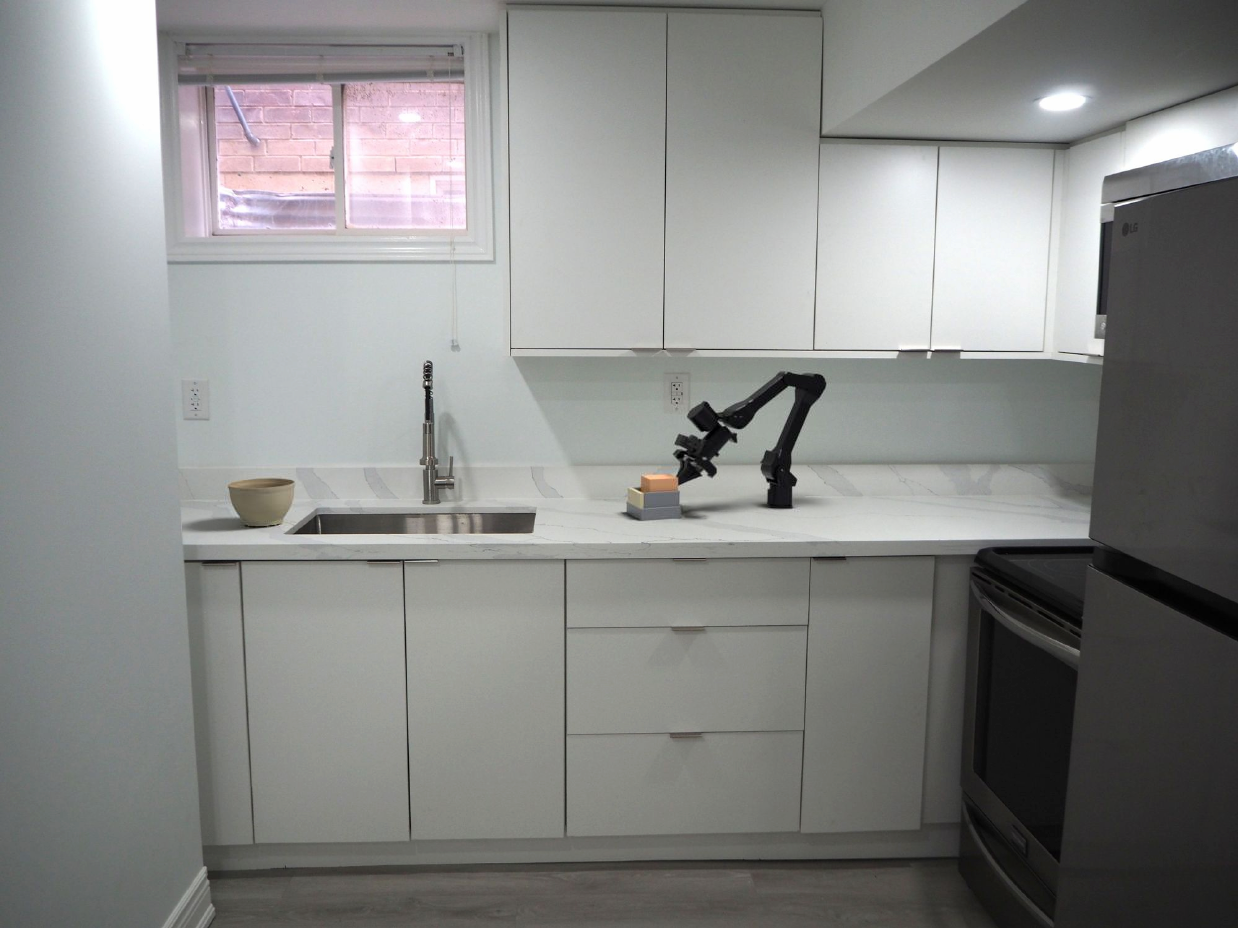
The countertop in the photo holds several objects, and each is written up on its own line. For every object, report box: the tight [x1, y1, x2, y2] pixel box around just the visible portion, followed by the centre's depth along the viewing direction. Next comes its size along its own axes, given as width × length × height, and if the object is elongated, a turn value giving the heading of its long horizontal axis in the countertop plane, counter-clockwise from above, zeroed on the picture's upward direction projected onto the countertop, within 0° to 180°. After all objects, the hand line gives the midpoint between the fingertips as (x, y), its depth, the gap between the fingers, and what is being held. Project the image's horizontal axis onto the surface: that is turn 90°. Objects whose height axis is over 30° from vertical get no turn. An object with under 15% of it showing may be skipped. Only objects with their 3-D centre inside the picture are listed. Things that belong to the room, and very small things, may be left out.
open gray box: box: [626, 486, 682, 522], centre depth 251 cm, size 11×12×7 cm
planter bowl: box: [227, 477, 296, 527], centre depth 240 cm, size 16×16×11 cm
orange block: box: [640, 473, 679, 493], centre depth 251 cm, size 8×7×7 cm
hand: (673, 485), depth 253 cm, fingers closed, pressing on orange block
